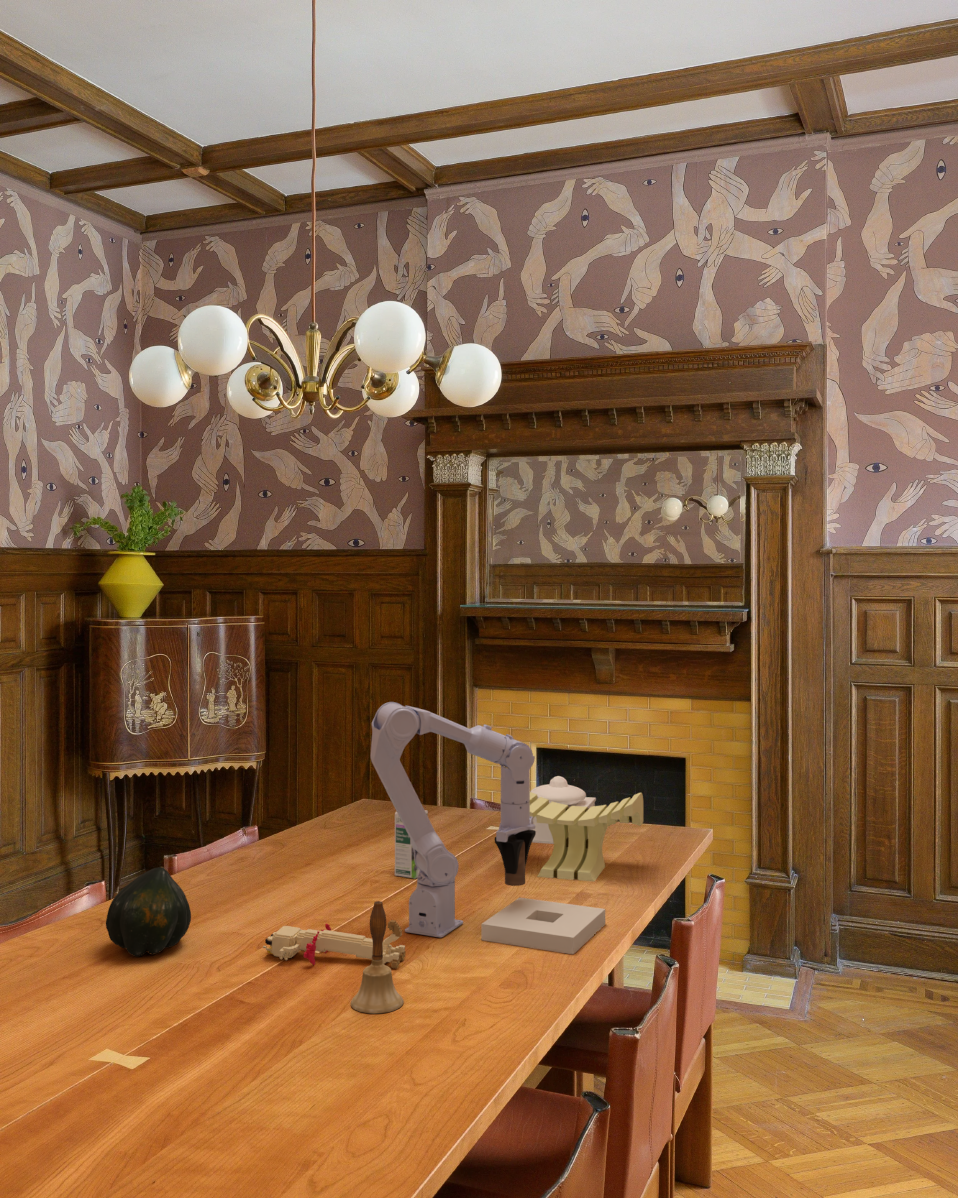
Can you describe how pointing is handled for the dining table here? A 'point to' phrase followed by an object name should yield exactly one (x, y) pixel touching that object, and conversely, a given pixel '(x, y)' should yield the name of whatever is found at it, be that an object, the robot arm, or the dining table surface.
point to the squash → (149, 914)
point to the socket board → (544, 925)
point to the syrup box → (404, 851)
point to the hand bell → (377, 973)
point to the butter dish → (559, 794)
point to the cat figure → (332, 943)
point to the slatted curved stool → (581, 834)
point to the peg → (520, 875)
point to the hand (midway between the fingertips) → (515, 870)
